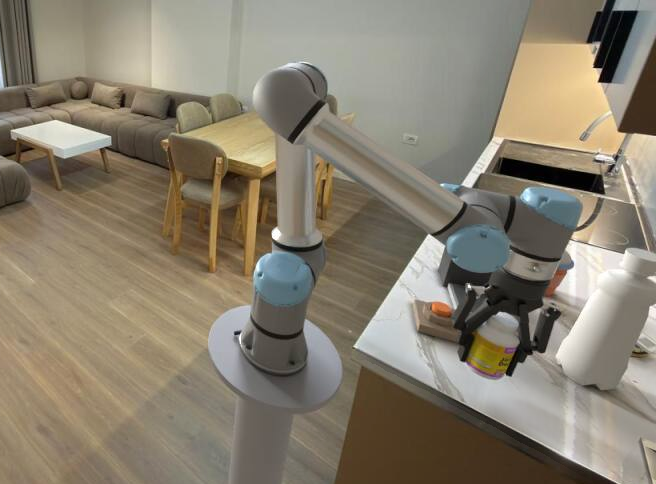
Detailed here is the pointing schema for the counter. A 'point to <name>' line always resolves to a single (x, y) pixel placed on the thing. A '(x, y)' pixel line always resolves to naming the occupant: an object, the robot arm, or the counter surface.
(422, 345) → the counter surface
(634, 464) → the counter surface
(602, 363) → the bottle
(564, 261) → the cup with straw
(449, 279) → the coffee maker
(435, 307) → the button
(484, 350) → the supplement bottle
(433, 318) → the control block
